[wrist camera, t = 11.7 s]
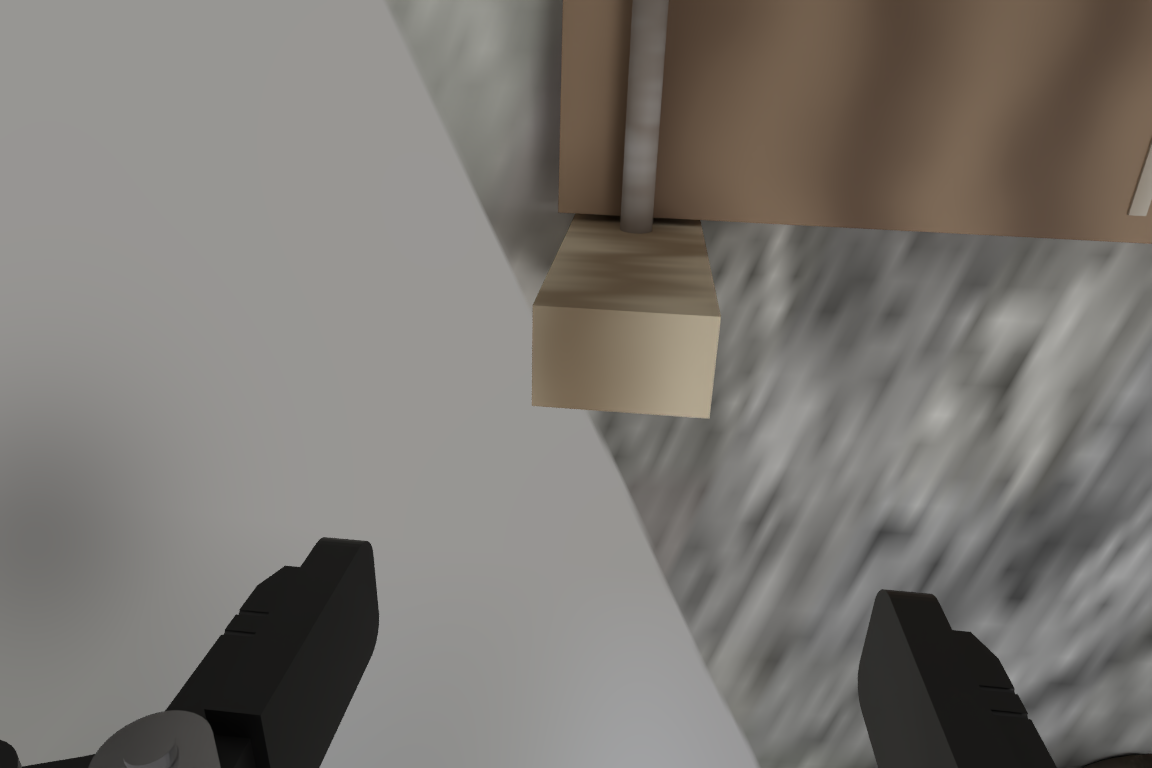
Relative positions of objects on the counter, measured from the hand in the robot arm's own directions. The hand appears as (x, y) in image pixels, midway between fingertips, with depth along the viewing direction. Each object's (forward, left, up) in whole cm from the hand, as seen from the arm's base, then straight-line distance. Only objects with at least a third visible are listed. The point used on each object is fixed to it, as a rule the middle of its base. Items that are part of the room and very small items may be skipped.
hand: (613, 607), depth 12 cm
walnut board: (-9, -8, -22) cm, 25 cm away
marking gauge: (0, -5, -22) cm, 22 cm away
